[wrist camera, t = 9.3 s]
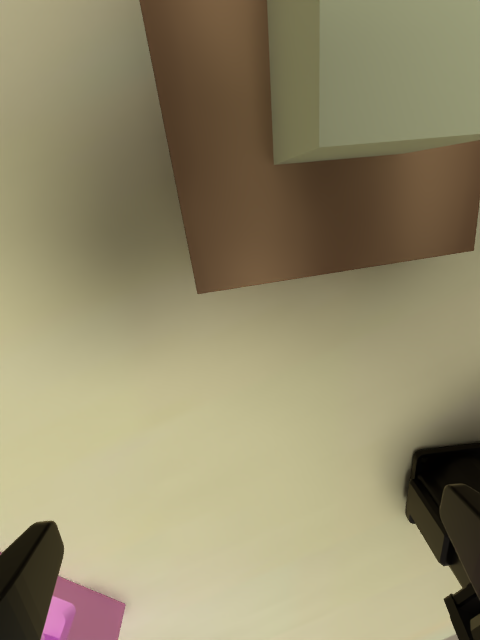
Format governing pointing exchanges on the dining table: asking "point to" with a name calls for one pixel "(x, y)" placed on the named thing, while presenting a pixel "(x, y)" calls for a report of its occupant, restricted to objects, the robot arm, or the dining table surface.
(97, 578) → the dining table surface
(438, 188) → the walnut block
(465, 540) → the robot arm
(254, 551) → the dining table surface
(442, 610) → the dining table surface
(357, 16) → the sage cube
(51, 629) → the bracket
